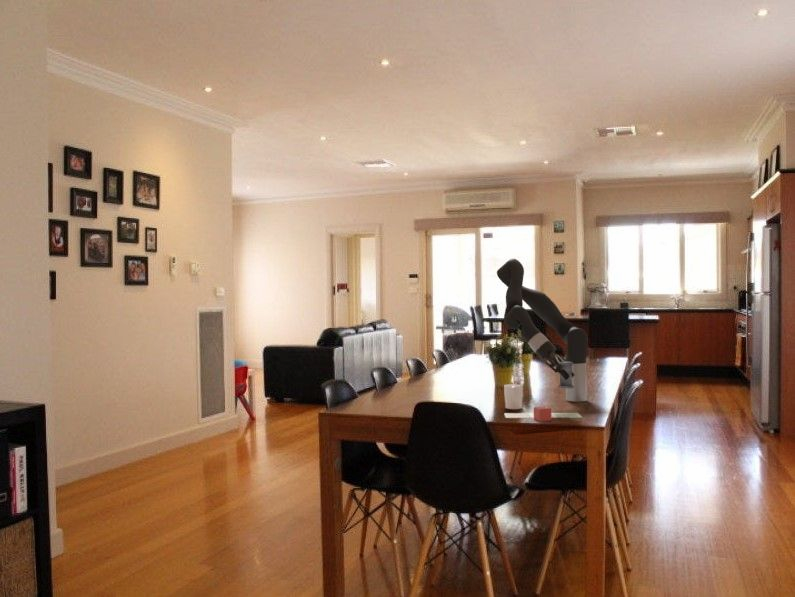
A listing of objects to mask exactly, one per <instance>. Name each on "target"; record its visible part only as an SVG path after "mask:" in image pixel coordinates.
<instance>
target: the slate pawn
mask: <svg viewBox="0 0 795 597" xmlns="http://www.w3.org/2000/svg"><path fill="white" fill-rule="evenodd" d="M560 364H561V366H562V368H563V370H565V371H566V372H567V373H568V374H569V375H570V377H569V378H568V379H567V380H565V379H564V377H563V376H562V375H561V374H560V373H559V384H558V388H559V389H566V388H574V385H572V365H573V362H560Z"/></svg>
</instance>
